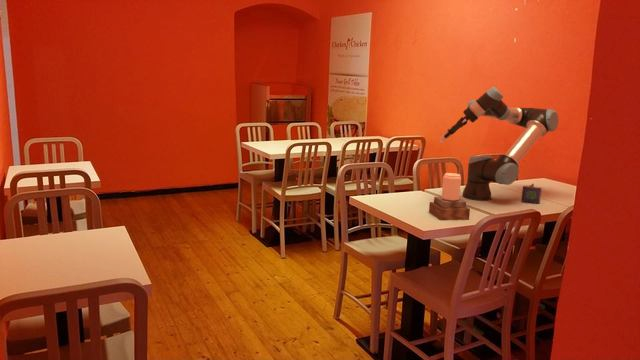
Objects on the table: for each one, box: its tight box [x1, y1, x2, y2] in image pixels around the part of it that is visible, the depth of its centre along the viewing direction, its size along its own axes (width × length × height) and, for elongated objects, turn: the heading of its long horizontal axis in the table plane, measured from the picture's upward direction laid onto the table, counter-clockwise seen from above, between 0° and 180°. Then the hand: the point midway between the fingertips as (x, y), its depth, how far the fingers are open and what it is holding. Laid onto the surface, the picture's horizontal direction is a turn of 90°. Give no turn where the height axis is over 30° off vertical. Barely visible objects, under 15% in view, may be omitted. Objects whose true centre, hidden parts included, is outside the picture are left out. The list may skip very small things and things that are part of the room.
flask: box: [521, 182, 542, 205], centre depth 279 cm, size 9×3×11 cm, turn 74°
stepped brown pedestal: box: [428, 196, 471, 221], centre depth 247 cm, size 14×14×8 cm
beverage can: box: [441, 172, 462, 201], centre depth 245 cm, size 8×8×12 cm
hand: (441, 139), depth 270 cm, fingers open, 13 cm apart
